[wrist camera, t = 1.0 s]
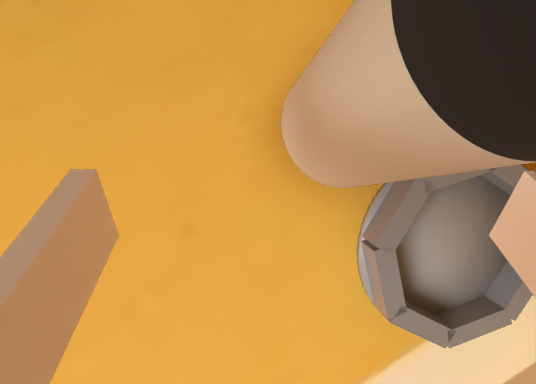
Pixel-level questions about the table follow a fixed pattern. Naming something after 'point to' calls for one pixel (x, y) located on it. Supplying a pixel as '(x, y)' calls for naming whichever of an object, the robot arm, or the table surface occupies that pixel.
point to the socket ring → (441, 255)
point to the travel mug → (416, 92)
